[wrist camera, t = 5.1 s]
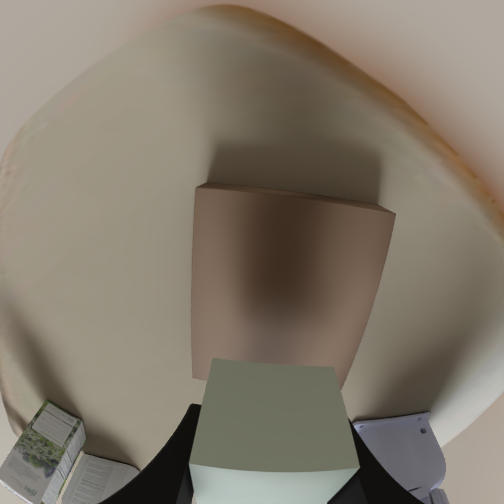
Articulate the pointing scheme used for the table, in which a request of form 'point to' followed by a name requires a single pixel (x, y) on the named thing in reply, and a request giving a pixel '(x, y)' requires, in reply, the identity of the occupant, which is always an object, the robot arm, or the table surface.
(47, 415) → the syrup box
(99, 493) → the photo printer
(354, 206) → the walnut block
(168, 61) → the table surface
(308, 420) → the sage cube
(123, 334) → the table surface
